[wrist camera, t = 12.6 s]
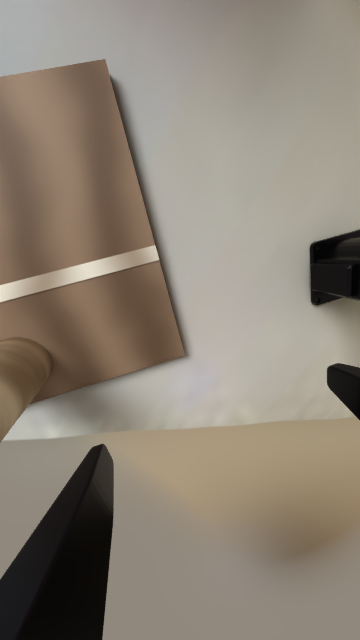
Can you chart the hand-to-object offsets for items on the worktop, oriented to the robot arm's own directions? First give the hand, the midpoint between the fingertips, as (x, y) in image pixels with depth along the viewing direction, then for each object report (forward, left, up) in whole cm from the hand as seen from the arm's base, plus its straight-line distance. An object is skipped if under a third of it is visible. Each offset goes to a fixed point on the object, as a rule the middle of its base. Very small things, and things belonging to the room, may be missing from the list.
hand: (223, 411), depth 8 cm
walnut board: (+9, -7, -13) cm, 17 cm away
